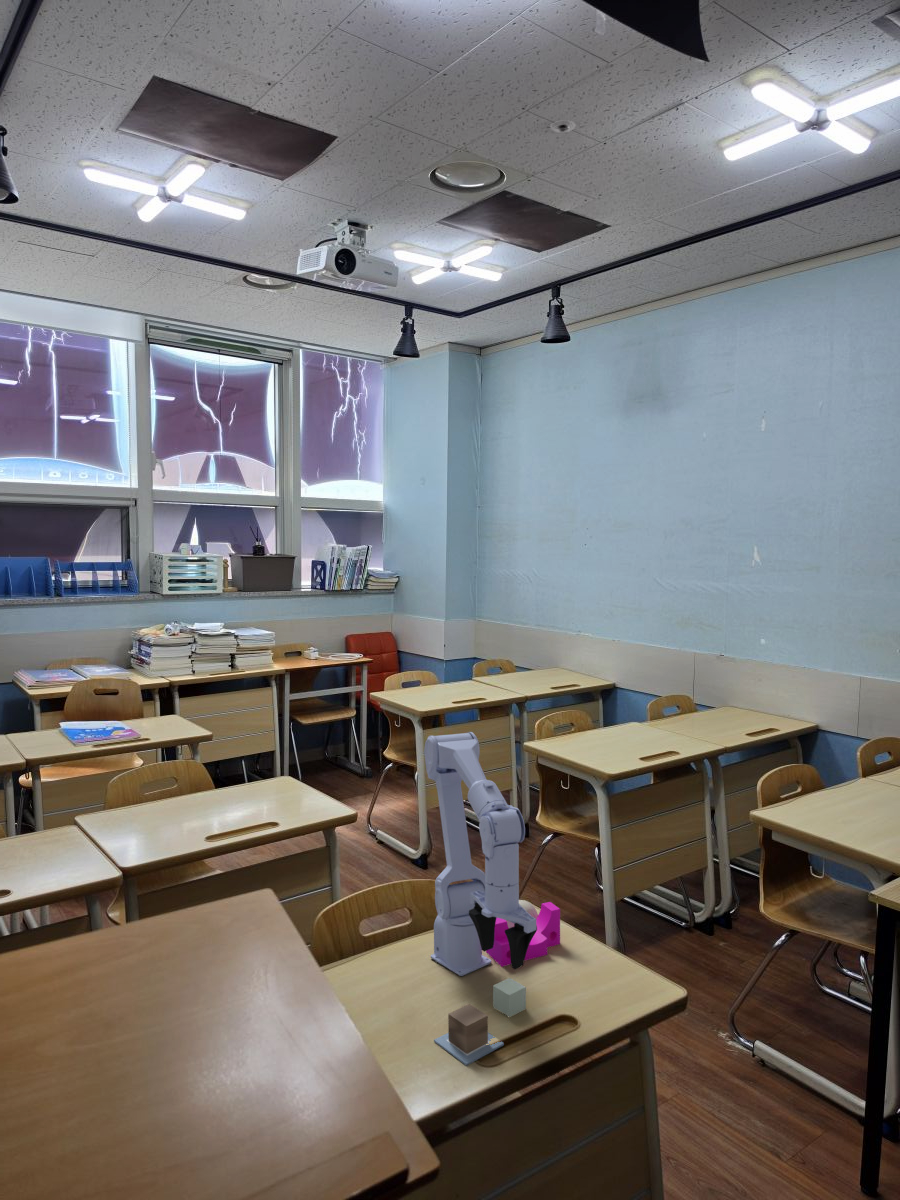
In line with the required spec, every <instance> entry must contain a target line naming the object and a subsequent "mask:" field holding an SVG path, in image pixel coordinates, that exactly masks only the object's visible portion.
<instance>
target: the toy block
mask: <svg viewBox="0 0 900 1200" xmlns="http://www.w3.org/2000/svg"><path fill="white" fill-rule="evenodd" d="M536 926H537V931H536V933H535V934H534V936H533V938H532V940H531V942H530V944H529V946H528V949H527V952H526V956H525V960H524V962H525V961H528V960H532V959H537V958H540V957H543V956H544V957H545V956H547V955H548V948H549V947H550V948H551V947H554V946H558V945H561V908H559V907H558V906H556V904H554V903H553V902H551V901H548V902H544V903H541V906H540V911H539V913H538V917H537V918H536ZM506 929H509V928H508V924H507V921H506V920H504V919H501V918H496V923H495V932H494V945H493V948H492V949H489V950H487V951H485V953H487V955H488V956H489V957H491V959H492V960H494V961H495V962H496V963H497V964H498V965H499V966H500V967H505V966H509V965H510V966H511V957H510V947H509V942H508V939H507V936H506V934H505V930H506Z"/></svg>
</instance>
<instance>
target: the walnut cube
mask: <svg viewBox="0 0 900 1200" xmlns="http://www.w3.org/2000/svg"><path fill="white" fill-rule="evenodd" d="M447 1016H448V1019H447V1020H448V1029H447V1031H448V1032H447V1033H449V1041H450V1042H451V1043H452V1044H454V1045H455V1046H456V1047H458V1048H459V1049H461V1050H462V1051H463V1052H465V1053H466V1054H468V1053H470V1052H471V1051H473V1050H475V1049H477V1048H479V1047H481V1046H483V1045H484V1044H486V1043H488V1033H489V1030H488V1029H489V1026H488V1025H489V1019H488V1017H489V1015H488V1014H487V1013H485V1012H483V1011H482V1010H480V1009H478V1008H477V1007H475V1006H474V1005H472V1004H471V1003H467V1004H465V1005H463V1006H462V1007H459V1008H457V1009H455V1010H453V1011H451V1012H449V1013H448V1015H447Z"/></svg>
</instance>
